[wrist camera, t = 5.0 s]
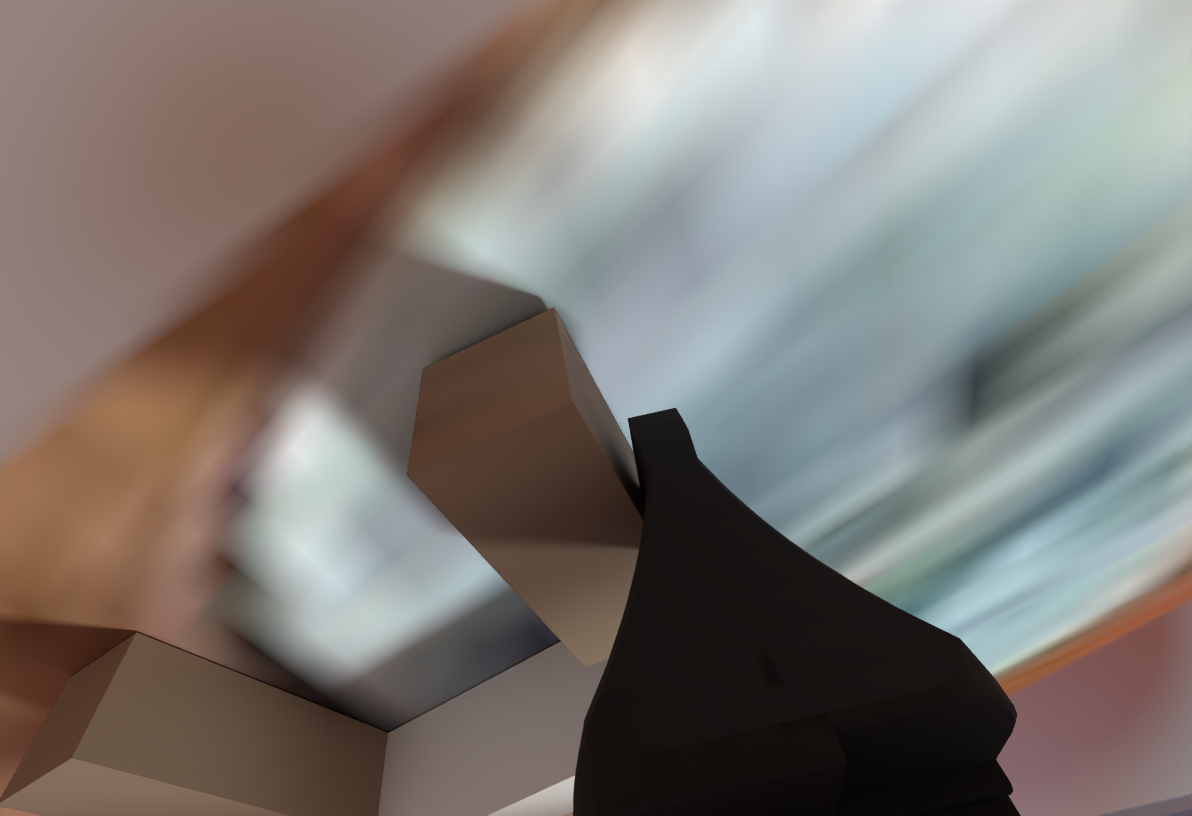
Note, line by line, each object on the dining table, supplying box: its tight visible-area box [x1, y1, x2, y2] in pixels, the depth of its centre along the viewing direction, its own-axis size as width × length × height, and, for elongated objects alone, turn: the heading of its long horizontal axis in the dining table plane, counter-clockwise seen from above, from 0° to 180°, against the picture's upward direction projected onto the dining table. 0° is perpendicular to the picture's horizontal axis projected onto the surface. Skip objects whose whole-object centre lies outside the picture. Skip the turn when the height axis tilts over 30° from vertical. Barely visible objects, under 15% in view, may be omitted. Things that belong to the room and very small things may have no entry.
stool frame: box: [0, 632, 609, 816], centre depth 17 cm, size 18×11×4 cm, turn 124°
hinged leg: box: [407, 307, 645, 667], centre depth 14 cm, size 10×3×3 cm, turn 23°
